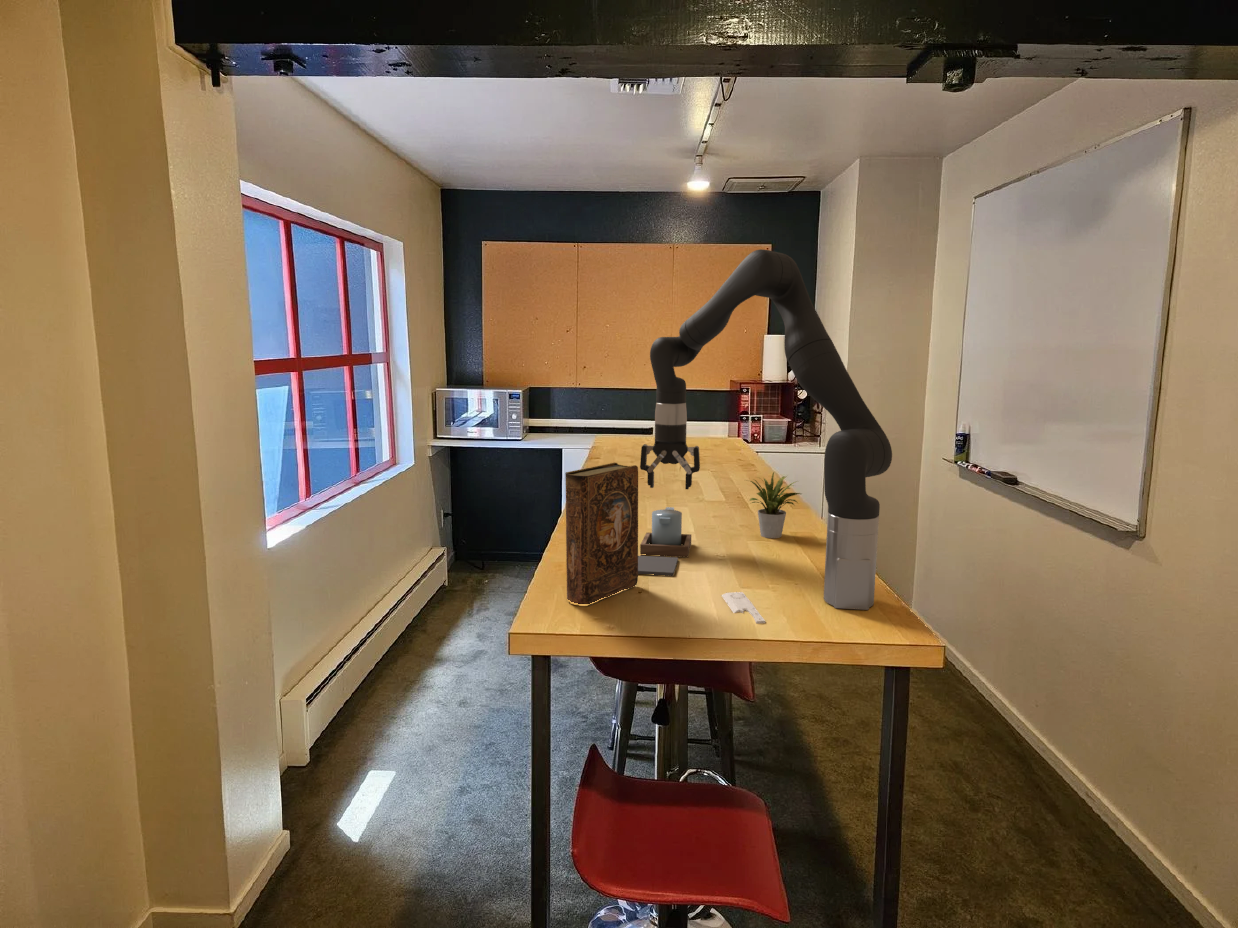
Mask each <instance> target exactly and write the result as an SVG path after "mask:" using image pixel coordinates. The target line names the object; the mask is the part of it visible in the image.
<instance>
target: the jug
mask: <svg viewBox="0 0 1238 928" xmlns="http://www.w3.org/2000/svg"><path fill="white" fill-rule="evenodd" d="M682 516H683V513H682V511H680V510H675V507H674V506H671V507H670V506H667V507H665V508H664V509H657V510H656V509H655V510H653V511H652V512H651V533H652V544H660V545H681V534H682V529H683V528H682V526H683V525H682V521H683V520H682V519H683V518H682Z"/></svg>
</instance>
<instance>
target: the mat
mask: <svg viewBox="0 0 1238 928" xmlns="http://www.w3.org/2000/svg"><path fill="white" fill-rule="evenodd" d="M678 562H679V557H666V556H645V555H638V575H639V574H654V575H653V576H658V575H665V576H664V577H674V575H675V572H676V569H677V566H678Z"/></svg>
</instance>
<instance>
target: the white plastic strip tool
mask: <svg viewBox="0 0 1238 928" xmlns="http://www.w3.org/2000/svg"><path fill="white" fill-rule="evenodd" d="M721 598H722V599H723V600H724V601H725V603H726V605H727V606H728V607H729V609H730V610H731V612H732V613H733V614H736V613H741V614H744V612H747V613H749V614H750V615H751V617H752V618H753V619H754V621H755V624H756V625H757V624H758V625H759V624H766V620H765V619H764V617H763V616H762V615H761V614H760V612H759V610H757V608H756V606H755V605H754V604H753V602H752V601H751V600H750V599H749V597H747V596H746V594H745V593H744V592H743V591H739V592H738V591H735V592H734V591H733V592H732V591H730V592H725V593H722V594H721Z"/></svg>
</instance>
